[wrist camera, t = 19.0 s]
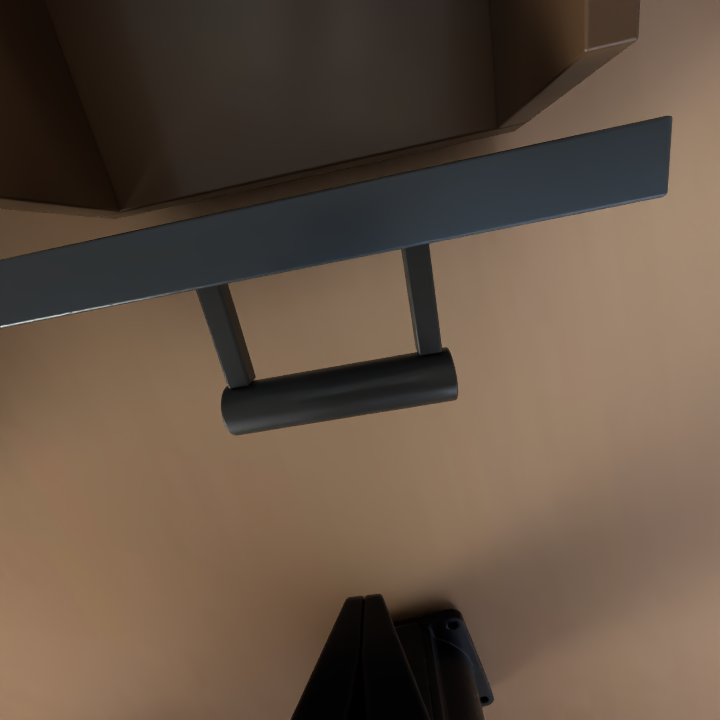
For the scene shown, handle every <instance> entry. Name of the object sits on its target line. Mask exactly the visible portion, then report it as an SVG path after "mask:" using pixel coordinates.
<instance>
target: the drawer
mask: <svg viewBox="0 0 720 720" xmlns="http://www.w3.org/2000/svg"><path fill="white" fill-rule="evenodd" d="M639 9H640V0H0V209H7V210H19V211H31V212H42V213H54V214H66V215H78V216H89V217H101V218H112V219H117V218H122V217H127V216H131V215H136V214H140V213H145V212H149V211H154V210H158V209H163V208H167V207H172V206H177V205H181V204H186V203H190V202H195V201H199V200H204V199H208V198H213V197H218V196H222V195H227V194H231V193H236V192H240V191H245V190H249V189H254V188H258V187H263V186H268V185H272V184H277V183H281V182H286V181H290V180H295V179H299V178H304V177H308V176H313V175H318V174H322V173H327V172H331V171H336V170H340V169H345V168H349V167H354V166H358V165H363V164H368V163H372V162H377V161H381V160H386V159H390V158H395V157H399V156H404V155H409V154H413V153H418V152H422V151H427V150H431V149H436V148H440V147H445V146H449V145H454V144H459V143H463V142H468V141H472V140H477V139H481V138H486V137H490V136H495V135H499V134H504V133H509V132H513V131H516V130H517V129H518V128H520V127H521V126H522V125H524V124H525V123H526V122H528V121H529V120H531V119H532V118H533V117H535V116H536V115H537V114H539V113H540V112H541V111H543V110H544V109H546V108H547V107H548V106H550V105H551V104H552V103H554V102H555V101H556V100H558V99H559V98H560V97H562V96H563V95H564V94H566V93H567V92H568V91H570V90H571V89H572V88H574V87H575V86H576V85H578V84H579V83H580V82H582V81H583V80H584V79H586V78H587V77H588V76H590V75H591V74H592V73H594V72H595V71H596V70H598V69H599V68H600V67H602V66H603V65H604V64H606V63H607V62H608V61H610V60H611V59H612V58H614V57H615V56H616V55H618V54H619V53H620V52H622V51H623V50H624V49H626V48H627V47H628V46H630V45H631V44H632V43H634V42H635V41H636V40H637V39H638V34H639ZM671 131H672V116H663V117H659V118H654V119H649V120H645V121H640V122H635V123H631V124H626V125H621V126H617V127H612V128H608V129H603V130H598V131H594V132H589V133H584V134H580V135H575V136H571V137H566V138H561V139H557V140H552V141H547V142H543V143H538V144H533V145H529V146H524V147H520V148H515V149H510V150H506V151H501V152H496V153H492V154H487V155H483V156H478V157H473V158H469V159H464V160H459V161H455V162H450V163H446V164H441V165H436V166H432V167H427V168H422V169H418V170H413V171H408V172H404V173H399V174H395V175H390V176H385V177H381V178H376V179H371V180H367V181H362V182H358V183H353V184H348V185H344V186H339V187H334V188H330V189H325V190H321V191H316V192H311V193H307V194H302V195H297V196H293V197H288V198H283V199H279V200H274V201H270V202H265V203H260V204H256V205H251V206H246V207H242V208H237V209H233V210H228V211H223V212H219V213H214V214H209V215H205V216H200V217H196V218H191V219H186V220H182V221H177V222H172V223H168V224H163V225H158V226H154V227H149V228H145V229H140V230H135V231H131V232H126V233H121V234H117V235H112V236H108V237H103V238H98V239H94V240H89V241H84V242H80V243H75V244H70V245H66V246H61V247H57V248H52V249H47V250H43V251H38V252H33V253H29V254H24V255H20V256H15V257H10V258H6V259H1V260H0V328H5V327H10V326H15V325H20V324H25V323H30V322H35V321H40V320H45V319H51V318H56V317H61V316H66V315H71V314H76V313H81V312H86V311H91V310H96V309H101V308H106V307H111V306H116V305H121V304H126V303H131V302H136V301H141V300H146V299H151V298H156V297H161V296H166V295H171V294H176V293H181V292H187V291H192V290H197V293H198V296H199V300H200V303H201V306H202V309H203V312H204V315H205V318H206V321H207V324H208V327H209V330H210V333H211V336H212V339H213V342H214V345H215V348H216V351H217V354H218V357H219V360H220V363H221V366H222V369H223V372H224V375H225V378H226V381H227V384H228V386H227V387H226V388H225V389H224V391H223V394H222V399H221V411H222V417H223V420H224V423H225V426H226V428H227V429H228V431H229V432H230V433H231V434H233V435H243V434H249V433H255V432H261V431H267V430H274V429H280V428H286V427H292V426H298V425H305V424H311V423H317V422H323V421H329V420H335V419H342V418H348V417H354V416H360V415H366V414H373V413H379V412H385V411H391V410H397V409H404V408H410V407H416V406H422V405H428V404H435V403H441V402H447V401H453V400H456V399H457V397H458V383H457V376H456V371H455V366H454V362H453V359H452V356H451V353H450V351H449V349H448V348H446V347H444V348H442V344H441V336H440V328H439V320H438V312H437V304H436V297H435V289H434V281H433V273H432V265H431V257H430V249H429V243H433V242H438V241H443V240H449V239H454V238H459V237H464V236H469V235H474V234H479V233H484V232H489V231H494V230H499V229H504V228H509V227H514V226H519V225H524V224H529V223H534V222H539V221H544V220H549V219H554V218H559V217H564V216H569V215H574V214H580V213H585V212H590V211H595V210H600V209H605V208H610V207H615V206H620V205H625V204H630V203H635V202H640V201H645V200H650V199H655V198H660V197H663V196H665V195H666V194H667V191H668V176H669V161H670V146H671ZM398 249H401V251H402V258H403V265H404V271H405V278H406V285H407V292H408V298H409V305H410V312H411V318H412V325H413V332H414V338H415V345H416V349H417V352H415V353H410V354H404V355H398V356H392V357H387V358H381V359H375V360H369V361H364V362H358V363H352V364H346V365H341V366H335V367H329V368H323V369H318V370H312V371H306V372H300V373H295V374H289V375H283V376H277V377H272V378H266V379H260V380H255V381H253V380H254V379H255V377H256V376H255V373H254V370H253V366H252V363H251V360H250V356H249V353H248V350H247V346H246V343H245V340H244V336H243V333H242V330H241V326H240V323H239V320H238V316H237V313H236V310H235V307H234V303H233V300H232V297H231V293H230V290H229V287H228V283H232V282H237V281H242V280H247V279H252V278H257V277H262V276H267V275H272V274H277V273H282V272H287V271H292V270H297V269H302V268H307V267H312V266H318V265H323V264H328V263H333V262H338V261H343V260H348V259H353V258H358V257H363V256H368V255H373V254H378V253H383V252H388V251H393V250H398Z"/></svg>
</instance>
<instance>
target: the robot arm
mask: <svg viewBox="0 0 720 720" xmlns="http://www.w3.org/2000/svg"><path fill="white" fill-rule="evenodd" d="M493 701H494V697H493V693H492V690H491V687H490V684H489V682H488V679H487V677H486V674H485V672H484V669H483V667H482V664H481V662H480V659H479V657H478V654H477V652H476V649H475V647H474V644H473V642H472V639H471V637H470V634H469V632H468V629H467V627H466V624H465V622H464V619H463V617H462V614H461V613H460V612H459V611H457V610H454V609H449V610H444V611H440V612H436V613H432V614H428V615H424V616H420V617H416V618H412V619H408V620H404V621H400V622H396V623H393V622H392V619H391V617H390V614H389V611H388V609H387V606H386V604H385V601H384V599H383V596H382V595H381V594H372V595H367V596H365V598H364V597H363V596H355V597H349V598H347V599H346V601H345V603H344V605H343V607H342V609H341V611H340V613H339V616H338V618H337V620H336V622H335V624H334V626H333V629H332V631H331V633H330V635H329V637H328V639H327V642H326V644H325V646H324V648H323V650H322V652H321V655H320V657H319V659H318V661H317V663H316V665H315V668H314V670H313V672H312V674H311V676H310V679H309V681H308V683H307V685H306V687H305V689H304V692H303V694H302V696H301V698H300V700H299V702H298V705H297V707H296V709H295V711H294V713H293V715H292V718H291V720H485V718H484V714H483V710H482V706H487V705H490V704H491V703H493Z"/></svg>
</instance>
